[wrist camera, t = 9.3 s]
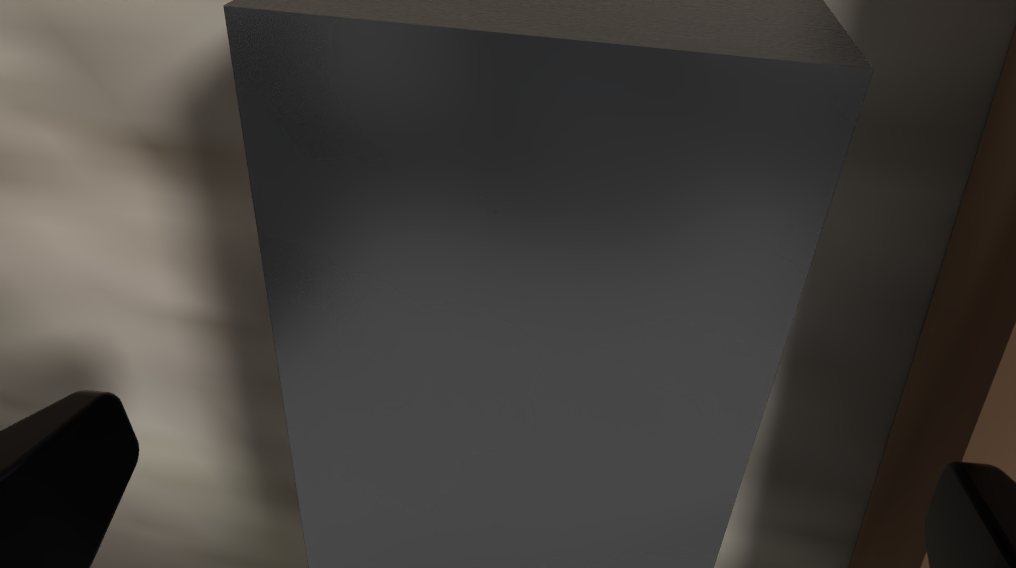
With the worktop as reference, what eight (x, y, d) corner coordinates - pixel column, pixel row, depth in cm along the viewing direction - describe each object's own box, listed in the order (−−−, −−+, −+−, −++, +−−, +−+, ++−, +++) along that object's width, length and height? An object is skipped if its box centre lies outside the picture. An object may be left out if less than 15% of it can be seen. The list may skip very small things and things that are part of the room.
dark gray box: (800, -31, 8) (873, 68, 6) (665, 510, 14) (668, 710, 11) (361, -69, 9) (223, 6, 6) (389, 466, 14) (320, 644, 11)
